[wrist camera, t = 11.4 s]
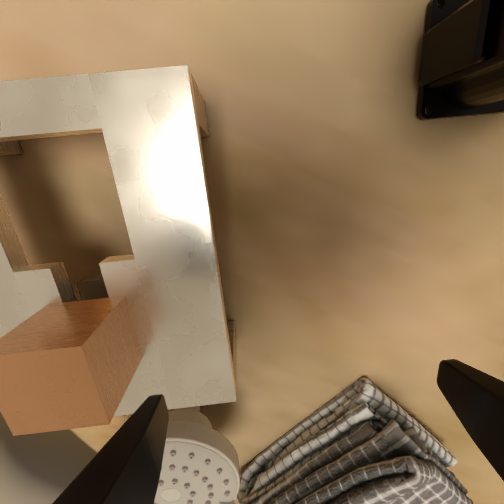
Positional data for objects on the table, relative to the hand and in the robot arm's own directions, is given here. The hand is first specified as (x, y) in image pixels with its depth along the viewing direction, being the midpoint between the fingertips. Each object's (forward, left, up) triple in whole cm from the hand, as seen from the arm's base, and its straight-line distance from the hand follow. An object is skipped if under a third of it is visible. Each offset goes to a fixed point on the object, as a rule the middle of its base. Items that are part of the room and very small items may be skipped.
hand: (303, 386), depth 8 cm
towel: (-6, +23, -13) cm, 27 cm away
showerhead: (+8, +14, -12) cm, 20 cm away
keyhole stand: (+10, -2, -12) cm, 16 cm away
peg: (+10, +1, -10) cm, 14 cm away
